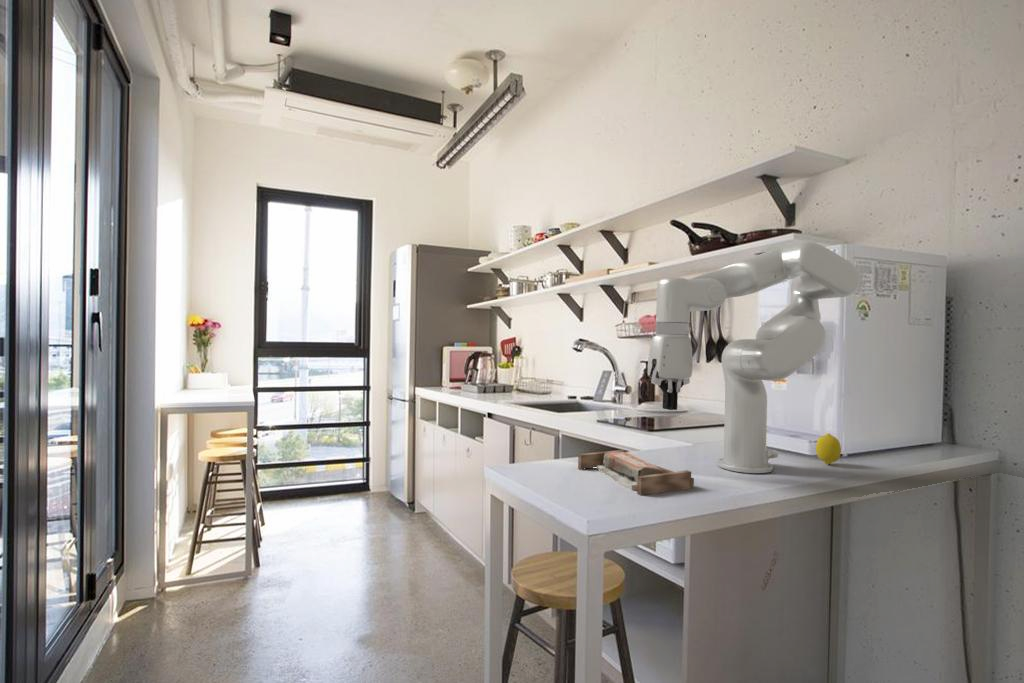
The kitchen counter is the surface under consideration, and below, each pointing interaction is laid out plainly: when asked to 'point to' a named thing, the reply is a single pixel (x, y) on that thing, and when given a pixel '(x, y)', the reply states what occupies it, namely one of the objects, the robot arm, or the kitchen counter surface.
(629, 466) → the packaged product
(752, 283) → the robot arm
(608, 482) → the kitchen counter surface
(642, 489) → the wooden rolling pin rack
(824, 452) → the lemon
